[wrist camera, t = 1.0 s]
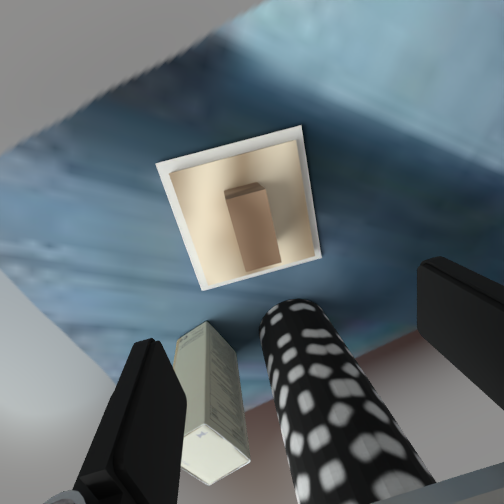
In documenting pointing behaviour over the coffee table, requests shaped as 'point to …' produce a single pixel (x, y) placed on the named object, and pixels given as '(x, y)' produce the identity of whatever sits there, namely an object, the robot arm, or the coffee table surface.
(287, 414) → the spotted tube
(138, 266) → the coffee table surface
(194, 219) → the lid
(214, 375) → the skincare box
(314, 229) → the mat
